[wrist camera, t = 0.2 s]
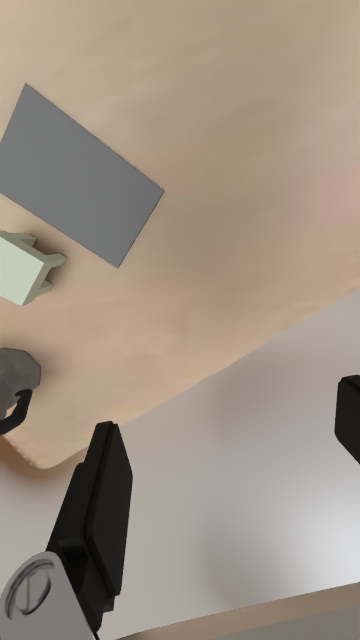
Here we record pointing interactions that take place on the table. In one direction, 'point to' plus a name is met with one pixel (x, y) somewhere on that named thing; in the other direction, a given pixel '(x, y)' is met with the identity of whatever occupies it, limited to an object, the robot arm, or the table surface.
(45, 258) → the pale green stool
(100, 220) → the mat
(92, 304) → the table surface
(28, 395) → the coffeepot
